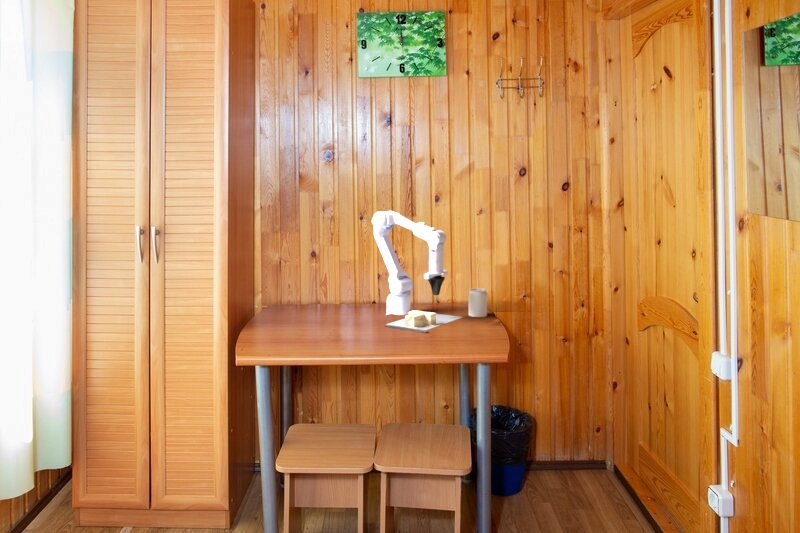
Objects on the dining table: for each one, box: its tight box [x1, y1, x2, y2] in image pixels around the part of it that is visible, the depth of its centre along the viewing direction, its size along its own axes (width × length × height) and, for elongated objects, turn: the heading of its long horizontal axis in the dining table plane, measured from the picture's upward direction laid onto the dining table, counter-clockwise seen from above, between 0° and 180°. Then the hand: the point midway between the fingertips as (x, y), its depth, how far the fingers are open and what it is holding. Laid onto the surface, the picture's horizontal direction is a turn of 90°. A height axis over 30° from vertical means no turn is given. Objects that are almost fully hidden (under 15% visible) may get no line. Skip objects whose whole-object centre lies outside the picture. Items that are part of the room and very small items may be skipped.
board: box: [385, 313, 463, 334], centre depth 259 cm, size 18×28×1 cm, turn 146°
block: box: [404, 309, 437, 328], centre depth 253 cm, size 10×11×4 cm
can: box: [468, 287, 488, 318], centre depth 269 cm, size 8×8×12 cm
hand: (435, 294), depth 264 cm, fingers closed
